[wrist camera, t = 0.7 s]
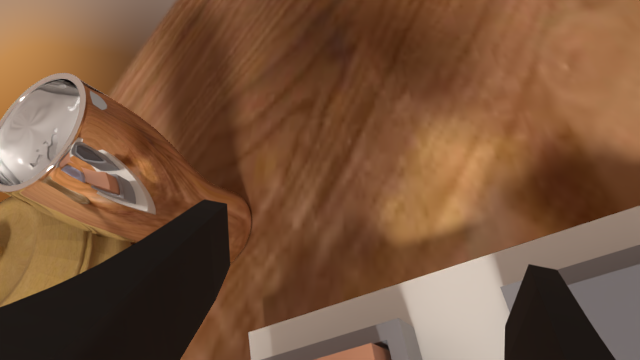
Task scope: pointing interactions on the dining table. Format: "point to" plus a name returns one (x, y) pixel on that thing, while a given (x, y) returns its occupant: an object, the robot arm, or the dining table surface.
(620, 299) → the charcoal key
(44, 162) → the beer glass
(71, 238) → the pot
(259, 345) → the button panel
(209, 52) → the dining table surface
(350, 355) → the terracotta key
